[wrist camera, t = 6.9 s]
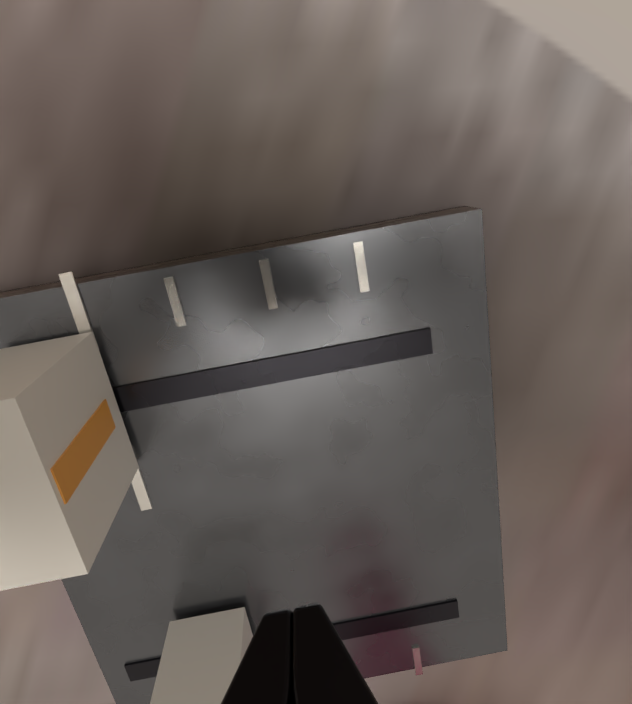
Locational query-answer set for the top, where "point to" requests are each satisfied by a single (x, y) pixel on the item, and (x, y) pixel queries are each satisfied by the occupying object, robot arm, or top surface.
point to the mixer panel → (296, 442)
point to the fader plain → (201, 657)
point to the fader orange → (58, 459)
